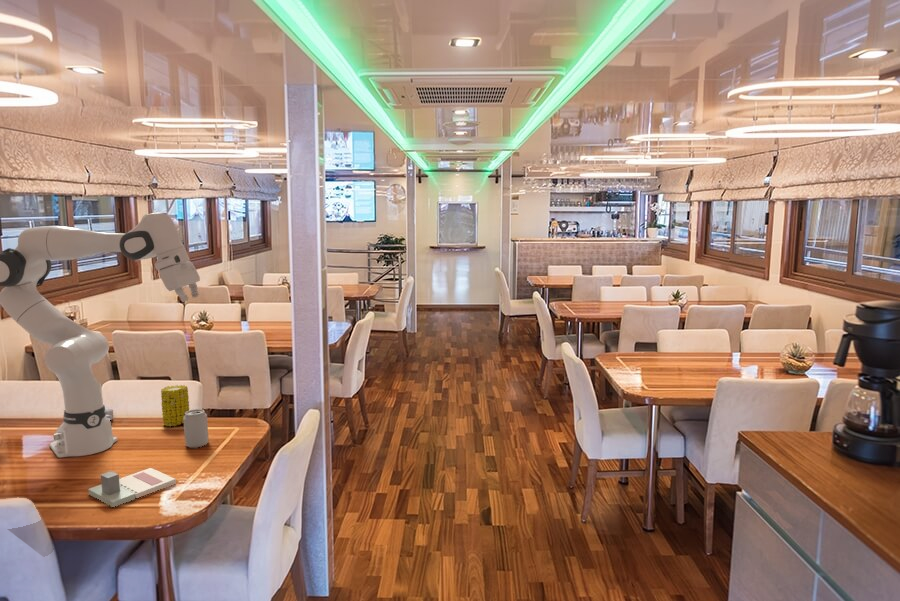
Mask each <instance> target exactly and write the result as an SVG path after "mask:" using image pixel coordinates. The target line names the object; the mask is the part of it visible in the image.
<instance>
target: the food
mask: <svg viewBox="0 0 900 601" xmlns="http://www.w3.org/2000/svg"><path fill="white" fill-rule="evenodd" d="M188 389H189V388H188V386H187V385H185V384H183V385H181V384H180V385H178V384H176V385H171V386H170V385H168V386H165V387H163V388H161V391H160V395H161V396H160V397H161V410H162V411H161V413H162V414H161V415H162V423H163V425H164V426H166V427H170V428H172V427H176V426H180V425H181V424H184V421H183V417H184V416H185V413H186V412H187V411H190V400H189V390H188ZM171 426H172V427H171Z"/></svg>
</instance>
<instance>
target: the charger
mask: <svg viewBox="0 0 900 601" xmlns="http://www.w3.org/2000/svg"><path fill="white" fill-rule="evenodd" d="M105 409H106V416H105V417H106V418H108V419H110V420H111V421H113V420H114V418H115V417H114V411H113V409H112V408H110V407H106V406H105Z"/></svg>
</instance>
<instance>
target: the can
mask: <svg viewBox="0 0 900 601" xmlns="http://www.w3.org/2000/svg"><path fill="white" fill-rule="evenodd" d="M183 421H184V423H183V430H184V433H183V434H184V441H185V442H184V443H185V446H186V447H188V448H190V449H198V447H200V448H203V447H205V446H207V444H208V443H209V429H208V428H209V427H208V426H209V425H208V414H207V413H206V412H205V410H204V409H201V408H198V409H197V408H196V409H191V410H190V409H189V411H187V412H186V413H185V416H184V417H183ZM204 445H205V446H204ZM202 446H203V447H202Z"/></svg>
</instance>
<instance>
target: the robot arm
mask: <svg viewBox="0 0 900 601" xmlns="http://www.w3.org/2000/svg"><path fill="white" fill-rule="evenodd" d="M141 217H142V218H141V219H140V221H139V223H138V224H137V225H135V226H134V227H133V228H132V229H131V230H129V231H128V232H126V233H122V232H121V233H116V232H115V233H112V232H111V233H109V232H100V231H93V230H90V229H89V230H88V229H83V228H77V227H72V226H71V227H70V226H61V225H60V226H59V225H54V226H53V225H46V226H36V227H35V226H34V227H31V228H26V229H24V230H23V231H21V233H19V236H18V238H17V246H16V247H15V248H10V247H9V248H6V249H4V250H2V251H1V252H0V287H3V288H2V289H1V291H0V306H1V307H2V308H3V310H4V311H5V312H6V313H7V315H9V317H10V318H11V319H12V320H14V322H16V323H17V324H18V325H19V326H20V327H21V328H23V330H25V332H27V333H28V334H30V336H31V337H33V339H34V340H36V341H39V342H41V343H45V344H48V345H51V348H49V349H48V350H47V351H46V352H45V355H44V362H45V365H46V367H47V369H48V370H49V371H50V372H51V373H53V374H55V375H56V378H57V379H58V381H59V383H60V387H61V391H62V395H63V402H64V410H63V411H64V412H63V422H62V423H61V424H60V426H58V427H57V429H56V433H54V434H52V435H53V440H54V441H52V442H50V443H49V447H50V449H51V450H52V452H53V453H54V454H55V456H56V457H57V458H67V457H84V456H89V455H93V454H98V453H101V452H104V451H105V450H106V451H107V450H109V448H111V447H112V446H113V444H114V443H116V442H117V441H118V437H117V436H114V434H113V429H112V423H111V421H110V419H108V418H106V417H105V416H106V409H105V407H106V406H105V404H104V399H103V389H102V384H101V382H100V381H99V380H97V379H96V377H95V375H94V372H93V370H92V365H95V364H96V363H98V362H100V361H101V360H102V359H103V358H104V357H106V355H107V354H108V353H109V350H110V343H109V340H108V339H107V336H105V335H103V334H102V333H100V332H96V331H92V330H90V329H89V328H86V327H84V326H83V325H82V324H79V323H78V322H76V321H74V320H72V319H71V318H69V317H68V316H66V315H65V314H64V313H63V312H62V311H61V310H59V309H58V308H57V307H56V306H54V305H53V304H52V303H51V302H50V301H49V300H47V299H46V298H45V296H43V295H42V294H41V293H40V292H39V291H38V289H37V287H41V286H42V285H43V284H44V282H45V280H46V279H47V277H48V275H49V274H50V272H51V270H52V261H71V260H73V261H74V260H79V259H82V258H88V257H90V256H91V257H92V256H95V255H100V254H104V253H121V254H122V255H123V256H124V257H125V258H127V259H128V260H132V261H142V260H148V259H155V258H156V261H155V263H154V267H155V270H156V271H158V273H159V276H160V279H161V281H162V283H163V285H164V287H165V289H167V291H169V292H171V291H174V293H175V294H176V295H177V296H178V297H179V298H180V301H181V302H182V303H184V302H187V301H189V297H188V295H187V294H186V293H185V292H184V288H183V287H186V286H188V287H189V289H190V291H191V293H190V294H191V296H192V298H197V297H199V296H200V294H199V290H198V284H197V283H198V282H200V280H201V279H200V275H199V272H198V270H197V269H196V266H195V265H194V264H193V262H192V261H190V256H189V255H188V252H187V250H186V247H185V245H184V243H183V242H182V240H181V237H180V233H179V230H178V228H177V226H176V224H175V222H174V220H173V218H172V217H171V216H170V214H168V213H166V212H163V211H162V212H160V211H159V212H152V213H147V214H144V215H143V216H141Z"/></svg>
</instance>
